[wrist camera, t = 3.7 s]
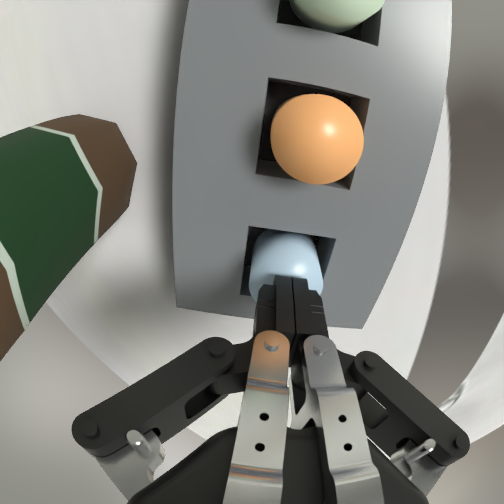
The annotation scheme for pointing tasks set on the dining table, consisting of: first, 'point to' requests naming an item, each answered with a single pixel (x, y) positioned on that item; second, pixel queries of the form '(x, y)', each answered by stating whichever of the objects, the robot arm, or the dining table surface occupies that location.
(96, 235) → the beer bottle
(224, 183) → the button panel
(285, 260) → the blue button
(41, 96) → the dining table surface
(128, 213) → the dining table surface
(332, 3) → the sage button
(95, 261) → the dining table surface
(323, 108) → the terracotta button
